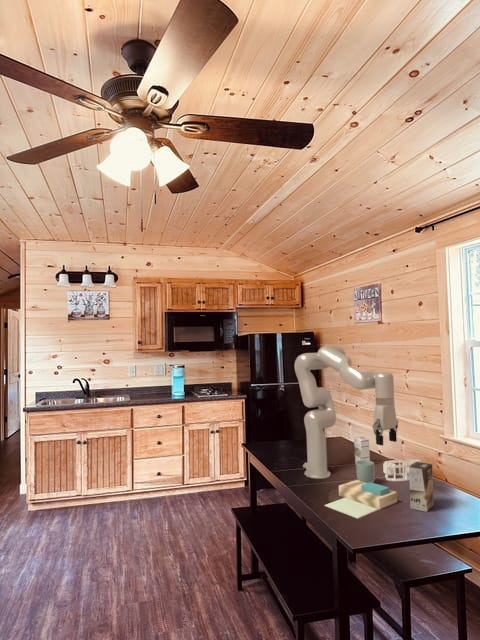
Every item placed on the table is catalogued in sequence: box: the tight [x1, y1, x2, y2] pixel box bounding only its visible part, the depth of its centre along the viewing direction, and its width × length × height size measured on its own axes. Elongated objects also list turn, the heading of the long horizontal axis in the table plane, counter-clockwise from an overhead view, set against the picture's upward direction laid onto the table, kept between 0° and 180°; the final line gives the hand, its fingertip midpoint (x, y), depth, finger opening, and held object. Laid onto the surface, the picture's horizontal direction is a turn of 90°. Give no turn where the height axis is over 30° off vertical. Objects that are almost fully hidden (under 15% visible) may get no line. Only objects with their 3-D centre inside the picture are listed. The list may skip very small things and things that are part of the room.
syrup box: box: [353, 436, 371, 466], centre depth 222 cm, size 6×6×14 cm
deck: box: [338, 479, 398, 511], centre depth 176 cm, size 20×12×4 cm, turn 37°
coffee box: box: [408, 462, 435, 513], centre depth 166 cm, size 9×6×16 cm
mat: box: [324, 497, 379, 519], centre depth 166 cm, size 16×12×1 cm
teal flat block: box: [361, 482, 390, 496], centre depth 173 cm, size 9×6×2 cm, turn 37°
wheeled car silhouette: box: [382, 458, 423, 482], centre depth 203 cm, size 20×11×7 cm, turn 97°
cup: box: [355, 460, 376, 483], centre depth 193 cm, size 8×8×10 cm
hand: (386, 442), depth 178 cm, fingers open, 9 cm apart
